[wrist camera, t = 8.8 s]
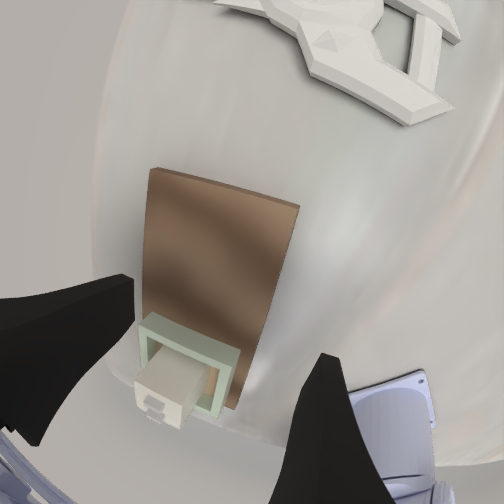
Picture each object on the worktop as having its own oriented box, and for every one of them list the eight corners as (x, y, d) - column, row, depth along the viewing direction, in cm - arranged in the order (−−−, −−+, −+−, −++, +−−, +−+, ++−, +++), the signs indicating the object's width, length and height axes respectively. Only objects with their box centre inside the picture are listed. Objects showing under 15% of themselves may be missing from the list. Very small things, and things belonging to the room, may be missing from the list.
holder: (225, 403, 24) (217, 418, 22) (153, 370, 25) (142, 382, 24) (240, 349, 21) (231, 367, 19) (152, 311, 22) (138, 324, 20)
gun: (141, 23, 11) (212, -81, 7) (169, 37, 14) (228, -58, 10) (447, 146, 11) (491, 18, 6) (425, 144, 14) (468, 33, 9)
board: (237, 402, 25) (234, 410, 24) (150, 363, 27) (145, 368, 26) (300, 205, 16) (297, 209, 16) (158, 167, 18) (150, 169, 17)
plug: (207, 385, 23) (175, 436, 18) (168, 366, 24) (132, 413, 18) (213, 357, 21) (176, 414, 16) (170, 337, 22) (127, 386, 17)
